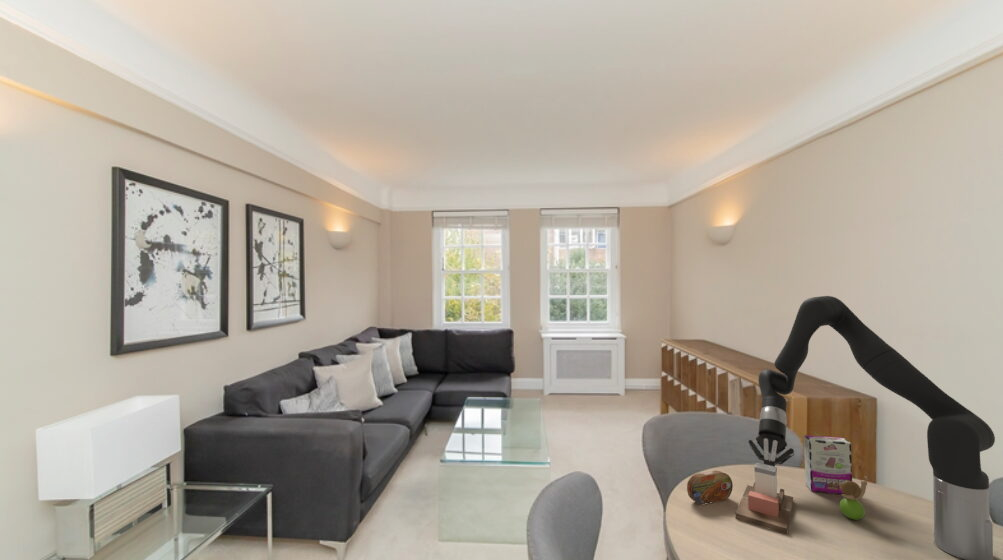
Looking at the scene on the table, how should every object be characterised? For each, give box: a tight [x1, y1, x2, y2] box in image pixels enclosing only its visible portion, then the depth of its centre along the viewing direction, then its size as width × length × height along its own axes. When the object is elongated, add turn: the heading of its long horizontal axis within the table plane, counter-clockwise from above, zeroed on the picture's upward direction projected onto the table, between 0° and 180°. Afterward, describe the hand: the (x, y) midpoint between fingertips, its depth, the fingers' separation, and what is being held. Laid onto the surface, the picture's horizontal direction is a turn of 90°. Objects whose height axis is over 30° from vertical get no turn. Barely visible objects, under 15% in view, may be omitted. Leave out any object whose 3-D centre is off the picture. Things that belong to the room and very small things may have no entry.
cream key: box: [754, 462, 778, 498], centre depth 122 cm, size 5×4×10 cm
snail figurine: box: [839, 475, 868, 521], centre depth 116 cm, size 5×6×12 cm
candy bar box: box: [803, 434, 853, 496], centre depth 131 cm, size 11×5×16 cm, turn 73°
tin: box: [686, 470, 734, 506], centre depth 126 cm, size 15×3×8 cm, turn 105°
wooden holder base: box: [735, 481, 794, 535], centre depth 121 cm, size 12×20×4 cm, turn 141°
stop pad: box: [748, 491, 779, 518], centre depth 118 cm, size 7×3×4 cm, turn 51°
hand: (768, 474), depth 129 cm, fingers closed
